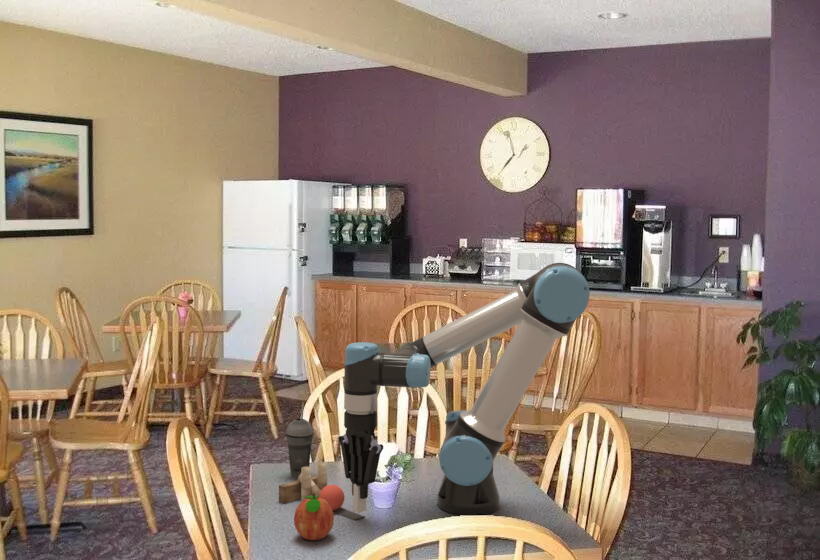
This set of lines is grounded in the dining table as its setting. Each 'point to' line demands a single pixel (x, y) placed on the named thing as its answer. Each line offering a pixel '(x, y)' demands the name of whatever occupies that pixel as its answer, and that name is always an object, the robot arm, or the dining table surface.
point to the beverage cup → (299, 444)
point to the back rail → (292, 490)
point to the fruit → (313, 518)
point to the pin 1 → (305, 482)
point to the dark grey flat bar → (348, 514)
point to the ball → (332, 496)
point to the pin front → (312, 487)
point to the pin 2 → (321, 475)
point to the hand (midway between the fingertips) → (359, 510)
